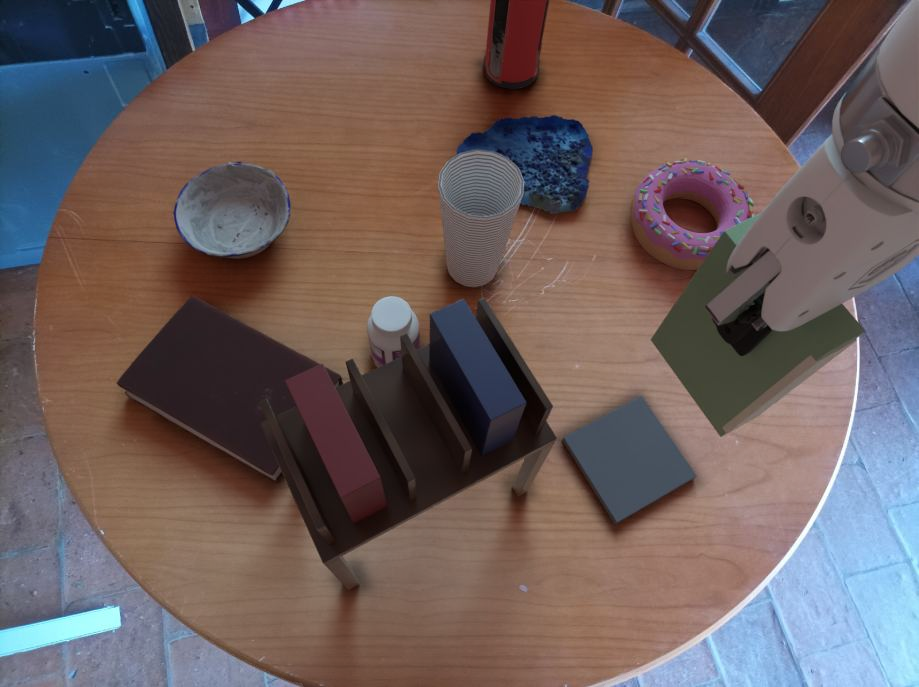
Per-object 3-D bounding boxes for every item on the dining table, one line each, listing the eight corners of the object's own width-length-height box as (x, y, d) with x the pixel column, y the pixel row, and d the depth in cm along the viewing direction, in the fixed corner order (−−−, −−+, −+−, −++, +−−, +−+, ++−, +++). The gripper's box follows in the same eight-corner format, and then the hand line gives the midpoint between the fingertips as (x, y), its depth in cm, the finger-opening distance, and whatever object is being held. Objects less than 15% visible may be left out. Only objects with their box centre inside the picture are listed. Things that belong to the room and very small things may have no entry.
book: (200, 305, 79) (191, 291, 76) (345, 384, 75) (341, 372, 72) (125, 395, 74) (113, 384, 71) (277, 485, 70) (270, 476, 67)
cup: (486, 226, 85) (498, 137, 71) (521, 280, 82) (540, 199, 68) (423, 252, 83) (423, 166, 69) (457, 309, 80) (463, 231, 66)
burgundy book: (387, 506, 52) (380, 477, 44) (353, 524, 51) (340, 498, 44) (337, 405, 55) (322, 362, 48) (304, 421, 55) (284, 380, 47)
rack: (527, 491, 71) (571, 412, 49) (348, 590, 66) (310, 550, 45) (470, 394, 75) (488, 282, 54) (298, 480, 71) (241, 395, 49)
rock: (582, 220, 86) (585, 210, 84) (446, 196, 86) (446, 186, 85) (595, 131, 92) (598, 121, 90) (468, 110, 93) (468, 99, 91)
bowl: (171, 210, 84) (157, 185, 80) (271, 172, 87) (263, 146, 83) (208, 294, 79) (195, 272, 75) (313, 251, 82) (307, 227, 78)
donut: (606, 240, 85) (616, 215, 80) (656, 162, 90) (668, 135, 86) (714, 297, 82) (731, 275, 77) (759, 214, 87) (777, 188, 83)
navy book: (512, 440, 55) (527, 402, 47) (481, 456, 54) (490, 420, 46) (459, 347, 58) (463, 298, 50) (429, 361, 57) (429, 313, 50)
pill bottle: (422, 334, 78) (421, 291, 70) (418, 377, 76) (417, 339, 67) (374, 330, 78) (367, 287, 70) (368, 374, 76) (361, 335, 67)
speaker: (530, 97, 94) (551, -23, 78) (475, 82, 95) (485, -40, 78) (544, 58, 97) (568, -65, 81) (491, 44, 98) (505, -81, 82)
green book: (753, 420, 52) (867, 332, 39) (721, 438, 51) (826, 355, 38) (680, 323, 55) (763, 211, 42) (649, 339, 55) (723, 230, 41)
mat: (693, 478, 72) (697, 476, 72) (614, 524, 70) (617, 522, 69) (638, 398, 76) (641, 395, 75) (561, 440, 74) (563, 437, 73)
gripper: (856, 270, 25) (684, 430, 42) (1149, 114, 29) (885, 317, 46) (727, 125, 28) (614, 330, 44) (1011, 0, 32) (810, 231, 48)
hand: (753, 322), depth 45 cm, fingers closed on green book, 3 cm apart
